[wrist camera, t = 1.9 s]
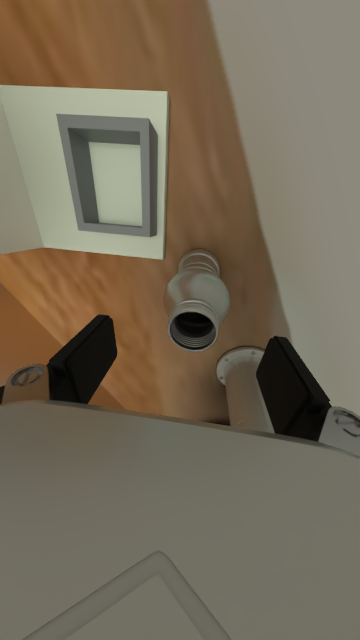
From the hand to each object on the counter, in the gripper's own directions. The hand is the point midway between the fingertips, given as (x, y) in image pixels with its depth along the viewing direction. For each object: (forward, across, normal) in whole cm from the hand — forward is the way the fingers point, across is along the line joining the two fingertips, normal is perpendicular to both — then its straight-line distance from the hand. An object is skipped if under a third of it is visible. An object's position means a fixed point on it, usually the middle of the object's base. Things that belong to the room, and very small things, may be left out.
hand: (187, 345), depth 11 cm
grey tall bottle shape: (+22, 0, +1) cm, 22 cm away
